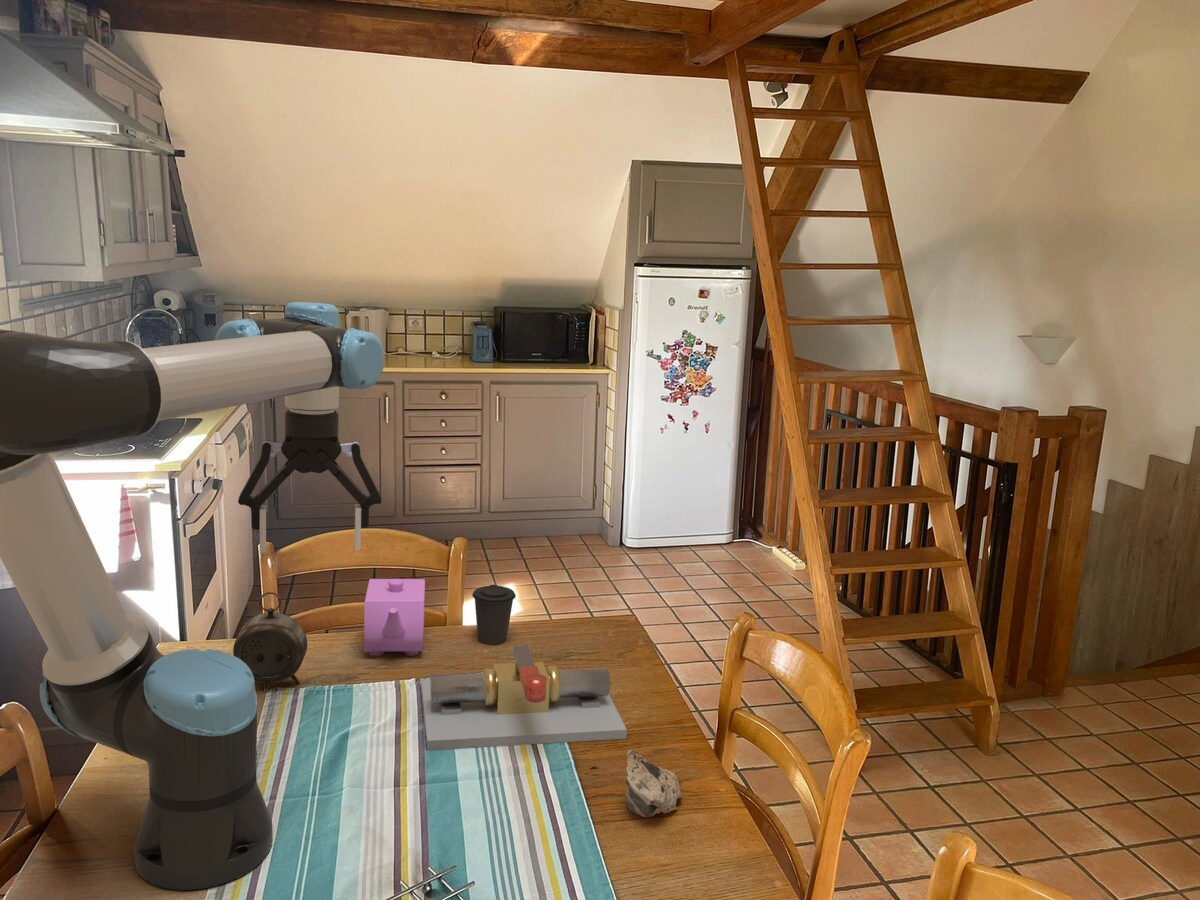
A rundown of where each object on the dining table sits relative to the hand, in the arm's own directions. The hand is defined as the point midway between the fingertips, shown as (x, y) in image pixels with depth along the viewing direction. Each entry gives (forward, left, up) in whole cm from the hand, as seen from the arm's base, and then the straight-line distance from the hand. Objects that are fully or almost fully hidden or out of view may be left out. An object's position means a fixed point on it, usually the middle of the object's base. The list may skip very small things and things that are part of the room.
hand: (310, 549), depth 144 cm
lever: (-11, -32, -19) cm, 39 cm away
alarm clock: (+8, +7, -26) cm, 28 cm away
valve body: (-5, -32, -24) cm, 41 cm away
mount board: (-5, -32, -26) cm, 42 cm away
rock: (-32, -46, -26) cm, 62 cm away
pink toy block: (+22, -13, -26) cm, 36 cm away
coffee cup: (+25, -31, -26) cm, 48 cm away
